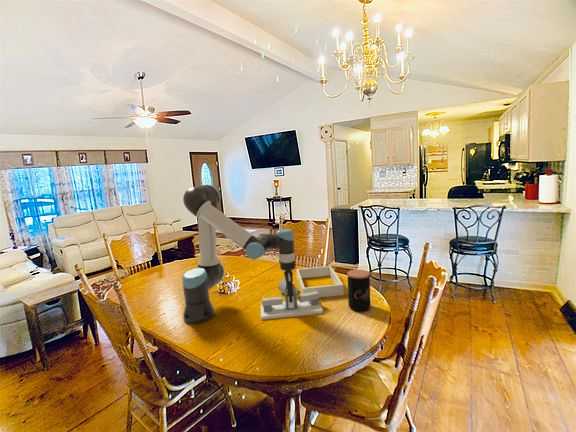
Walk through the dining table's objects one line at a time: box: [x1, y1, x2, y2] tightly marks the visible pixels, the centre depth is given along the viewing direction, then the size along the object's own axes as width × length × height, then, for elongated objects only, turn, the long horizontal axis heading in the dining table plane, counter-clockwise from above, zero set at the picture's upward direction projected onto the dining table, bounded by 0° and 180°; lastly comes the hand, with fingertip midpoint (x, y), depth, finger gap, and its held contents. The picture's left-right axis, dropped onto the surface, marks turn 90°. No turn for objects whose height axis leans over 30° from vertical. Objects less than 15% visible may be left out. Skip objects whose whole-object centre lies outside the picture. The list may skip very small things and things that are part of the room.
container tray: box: [296, 265, 345, 299], centre depth 187 cm, size 22×32×6 cm
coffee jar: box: [346, 268, 371, 313], centre depth 155 cm, size 11×11×18 cm
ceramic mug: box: [277, 278, 300, 295], centre depth 179 cm, size 11×8×8 cm
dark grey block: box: [284, 290, 298, 309], centre depth 158 cm, size 6×6×8 cm
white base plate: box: [260, 291, 324, 321], centre depth 159 cm, size 30×14×7 cm, turn 95°
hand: (290, 304), depth 159 cm, fingers closed on dark grey block, 5 cm apart
